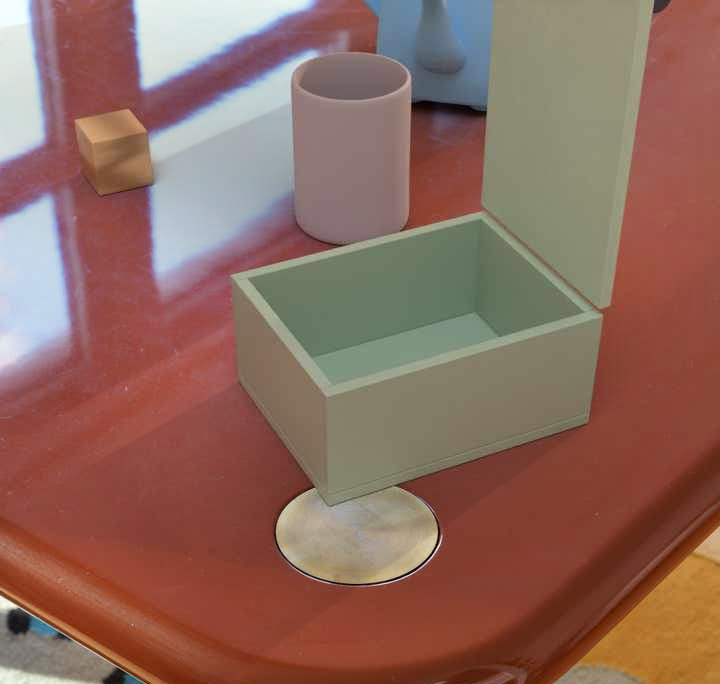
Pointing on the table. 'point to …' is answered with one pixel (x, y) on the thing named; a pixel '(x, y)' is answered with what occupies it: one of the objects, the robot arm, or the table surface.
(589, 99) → the green box lid
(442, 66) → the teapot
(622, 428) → the table surface
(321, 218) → the mug
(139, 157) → the block
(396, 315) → the green hinged box
